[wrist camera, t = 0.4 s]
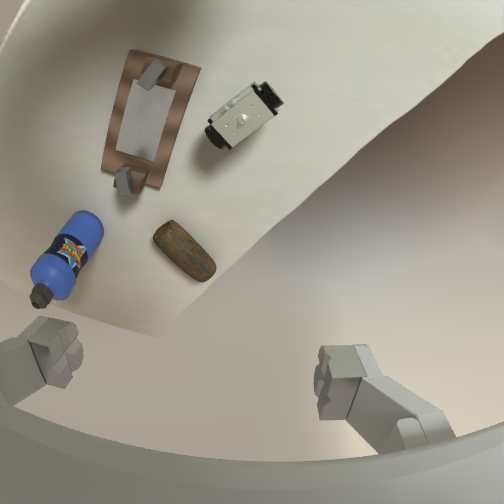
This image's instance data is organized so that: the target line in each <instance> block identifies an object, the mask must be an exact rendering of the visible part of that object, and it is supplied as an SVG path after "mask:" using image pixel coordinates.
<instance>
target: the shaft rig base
mask: <svg viewBox="0 0 504 504" xmlns="http://www.w3.org/2000/svg"><path fill="white" fill-rule="evenodd" d="M157 59H158V60H160V61H161V62H163V63H164V64H165V65H167V66H168V67H169V68H168V69H167V70H166V71H165V73H164V74H163V75H162V76H161V78H160V79H159V80H158V82H157V83H156V84H155V85H158V86H162V87H166V88H169V89H172V90H176V93H175V95H174V98H173V101H172V104H171V107H170V110H169V113H168V117H167V120H166V123H165V126H164V129H163V133H162V136H161V139H160V143H159V146H158V149H157V153H156V157H155V160H154V162H153V161H150V160H146V159H143V158H140V157H137V156H134V155H131V154H127V153H124V152H121V151H118V150H116V145H117V141H118V136H119V132H120V128H121V124H122V120H123V116H124V112H125V108H126V104H127V100H128V97H129V93H130V90H131V86H132V83H133V79H136V80H139V79H140V78H141V76H142V75H143V74H144V72H145V71H146V70H147V68H148V67H149V66H150V64H151V63H152V62H153V60H157ZM200 70H201V67H198V66H194V65H191V64H188V63H184V62H181V61H177V60H174V59H170V58H166V57H162V56H158V55H154V54H150V53H146V52H142V51H137V50H130V51H129V54H128V57H127V60H126V64H125V67H124V70H123V73H122V77H121V80H120V84H119V88H118V91H117V95H116V99H115V103H114V107H113V111H112V115H111V119H110V124H109V128H108V133H107V138H106V143H105V148H104V153H103V159H102V165H101V169H103V170H106V171H109V172H113V173H115V172H116V171H117V169H118V168H122V167H131V174H132V182H133V188H134V191H133V192H132V193H134V194H137V195H138V194H139V192H140V191H141V189H142V188H143V187H144V185H145V184H146V183H147V184H150V185H153V186H156V187H159V188H160V187H161V186H162V183H163V180H164V176H165V173H166V169H167V166H168V163H169V159H170V156H171V153H172V150H173V146H174V143H175V140H176V137H177V134H178V131H179V128H180V125H181V122H182V119H183V116H184V113H185V110H186V108H187V105H188V102H189V99H190V96H191V94H192V91H193V88H194V86H195V83H196V80H197V78H198V75H199V73H200ZM113 187H115V188H117V185H116V179H115V180H114V185H113Z"/></svg>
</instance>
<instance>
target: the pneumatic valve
mask: <svg viewBox="0 0 504 504" xmlns="http://www.w3.org/2000/svg"><path fill="white" fill-rule="evenodd" d="M283 104H284V103H283V101H282V100H281V98H280V97H279V96H278V94H277V93H276V92H275V91H274V90H273V88H272V87H271V86H270V85H269V84H268V83H267V82H266V81H265V82H263V83H262V84H261V85H260V84H259V85H257V84H256V83H255V82H253V83H252V84H251V85H249V86H248V87H247V88H245V89H244V90H243V91H241V92H240V93H239V94H237V95H236V96H235V97H234V98H232V99H231V100H230V101H229V102H227V103H226V104H225V105H224V106H222V107H221V108H220V109H219V110H217V111H216V112H215V113H214V114H213V115H211V116H210V117H209V119H208V122H209V123H210V125H209V126H207V127H206V128H205V133H206V135H207V137H208V138H209V139H210V141H211V142H212V143H213V144H214V145H215V146H216V147H218V148H219V149H224V148H225V147H226V148H228V149H229V150H230V149H232V148H233V147H234V146H235V145H237V144H238V143H239V142H241V141H242V140H243V139H245V138H246V137H247V136H249V135H250V134H251V133H253V132H254V131H255V130H257V129H258V128H259V127H261V126H262V125H263V124H265V123H266V122H267V121H269V120H270V119H272V118H273V117H274V116H276V115H277V114H278V111H279V109H278V108H279V107H280V106H281V105H283Z"/></svg>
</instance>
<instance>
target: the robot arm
mask: <svg viewBox="0 0 504 504" xmlns="http://www.w3.org/2000/svg"><path fill="white" fill-rule="evenodd" d="M77 335H78V330H77V327H76V325H75V324H74V323H72V322H68V321H63V320H58V319H54V318H50V317H44V316H39V317H37V318H36V319H35V320H34V321H33V322H32V323H31V324H30V325H29V326H28V327H27V328H26V329H25V330H24V331H23V332H22V333H21V334H20V335H19V336H18V337H17V338H10V339H7V340H5V341H2V342H0V504H504V422H501V423H498V424H496V425H493V426H490V427H488V428H485V429H482V430H479V431H476V432H473V433H470V434H467V435H463V436H460V437H456V436H455V434H454V432H453V430H452V428H451V426H450V424H449V422H448V420H447V418H446V416H445V415H444V413H443V411H442V410H440V409H439V408H437V407H435V406H434V405H432V404H431V403H429V402H427V401H426V400H424V399H423V398H421V397H419V396H418V395H416V394H415V393H413V392H412V391H410V390H408V389H407V388H405V387H404V386H402V385H401V384H399V383H398V382H396V381H394V380H393V379H391V378H390V377H388V376H383V375H382V373H381V370H380V368H379V366H378V364H377V362H376V360H375V358H374V356H373V353H372V351H371V349H370V347H369V346H368V345H367V344H359V345H348V346H347V345H345V346H321V347H320V350H319V355H318V358H319V362H320V363H319V365H317V366H316V368H315V374H314V391H315V395H316V396H317V397H318V398H319V399H318V403H317V408H318V413H319V418H320V420H345V419H347V420H346V421H347V422H348V423H349V424H350V425H351V426H352V427H353V428H354V429H355V430H356V431H357V432H358V433H359V434H360V435H361V436H362V437H363V438H364V439H365V440H366V441H367V442H368V443H369V444H370V445H371V446H372V447H373V448H374V449H375V450H376V451H377V452H378V453H379V454H378V455H372V456H364V457H356V458H348V459H347V458H346V459H336V460H322V461H302V462H301V461H300V462H260V461H238V460H222V459H213V458H203V457H195V456H187V455H180V454H174V453H168V452H161V451H156V450H151V449H145V448H141V447H136V446H131V445H127V444H123V443H119V442H115V441H111V440H107V439H103V438H100V437H96V436H93V435H90V434H86V433H83V432H80V431H76V430H74V429H71V428H68V427H65V426H62V425H59V424H56V423H53V422H51V421H48V420H45V419H43V418H40V417H38V416H35V415H33V414H30V413H28V412H25V411H23V410H21V409H18V408H16V407H14V405H15V404H17V403H19V402H20V401H22V400H23V399H25V398H26V397H28V396H29V395H31V394H33V393H34V392H36V391H37V390H39V389H40V388H42V387H44V386H45V385H46V384H48V385H52V386H55V387H59V388H63V389H65V388H66V386H67V385H68V383H69V382H70V380H71V379H72V377H73V376H72V372H73V371H75V370H77V369H78V368H79V367H80V365H81V363H82V360H83V348H82V345H81V343H80V342H79V340H78V339H77Z"/></svg>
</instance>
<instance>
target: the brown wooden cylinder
mask: <svg viewBox="0 0 504 504" xmlns="http://www.w3.org/2000/svg"><path fill="white" fill-rule="evenodd" d="M153 240H154V242H155V244H156V245H157V246H158V247H159V248H160V249H161V250H162V251H163V252H164V253H165V254H166V255H167V256H168V257H169V258H170V259H171V260H172V261H173V262H174V263H175V264H176V265H177V266H179V267H180V268H181V269H182V270H183V271H184V272H185V273H187V274H188V275H189V276H191V277H192V278H193V279H195V280H197V281H199V282H205V281H207V280H209V279H210V278H211V277H212V276H213V275H214V274H215V272H216V264H215V262H214V261H213V259H212V258H211V257H210V256H209V255H208V254H207V253H206V252H205V250H204V249H203V248H202V247H201V246H200V245H199V244H198V243H197V242H196V241H195V240H194V239H193V238H192V237H191V236H190V235H189V234H188V233H187V232H186V231H185V230H184V229H183V228H182V227H181V226H180V225H179V224H178V223H176V222H175V221H174V220H170V221H168V222H166V223H165V224H163V225H162V226H161V227H160V228H158V229H157V231H156V232H155V233H154V235H153Z"/></svg>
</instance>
